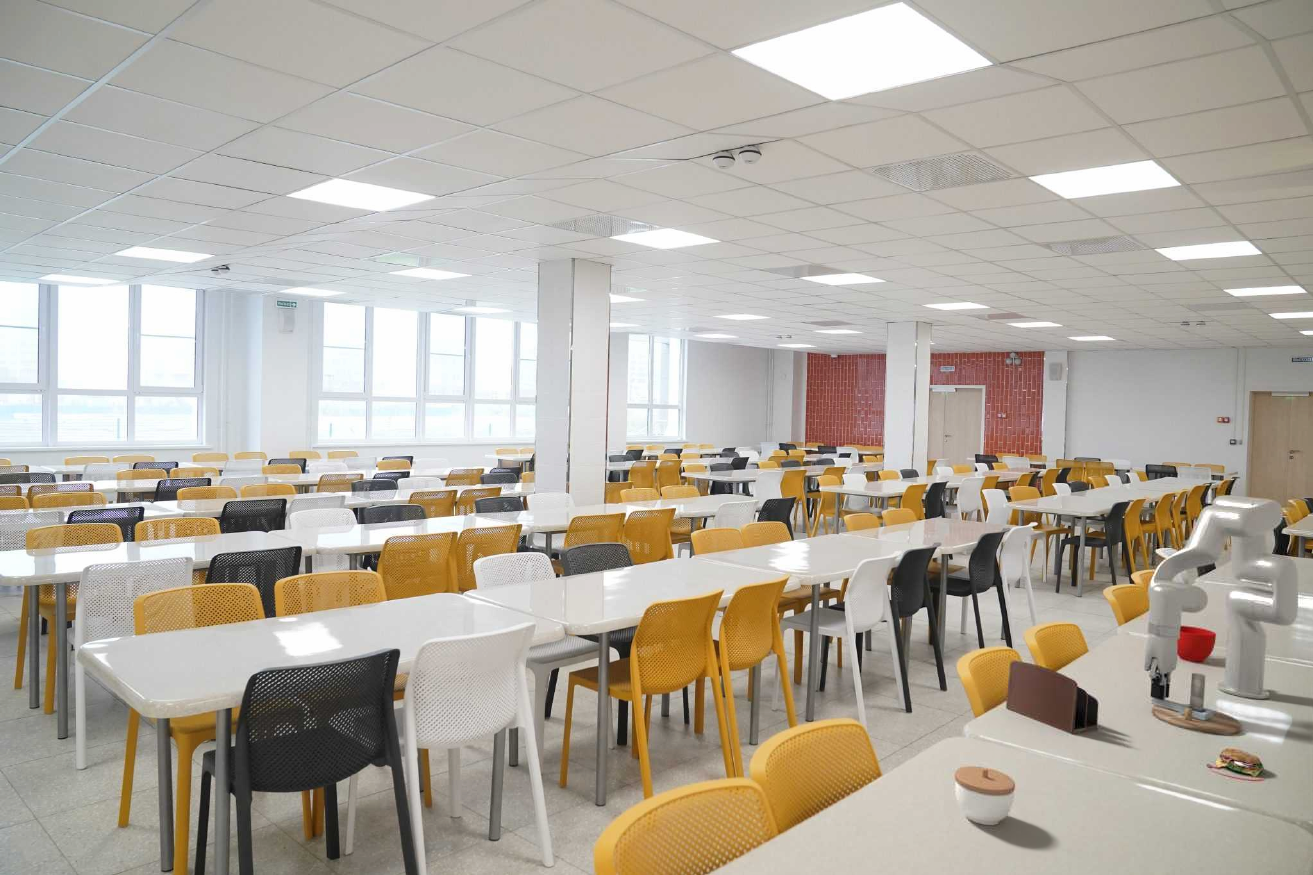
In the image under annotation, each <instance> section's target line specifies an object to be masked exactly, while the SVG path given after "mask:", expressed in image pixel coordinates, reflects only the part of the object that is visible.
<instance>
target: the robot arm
mask: <svg viewBox="0 0 1313 875" xmlns="http://www.w3.org/2000/svg"><path fill="white" fill-rule="evenodd" d="M1283 518H1284V510H1283V507H1282V506H1281V504H1280V503H1279V502H1278V501H1276V500H1274V499H1270V498H1262V497H1250V496H1245V495H1244V496H1241V495H1229V494H1227V495H1219V496H1217V497H1215V498H1214V499H1213V500H1212V504H1211V505H1207V506H1204V507H1203V509H1202V510H1201V512H1200V513H1199V515H1198V517H1197V519H1196V522H1195V524H1194V527H1193V529H1192V531H1191V532H1190V535H1189V538H1188V539H1187V541H1186V544H1185V545H1184V547H1183V548H1181V549H1180V550H1178V551H1176V552H1174V553H1172V554H1171V555H1169V556H1168V557H1167V558H1165V559H1164V560H1163V561H1161V562H1160V563H1159V565H1158V566H1157V567H1156V569H1155V571H1154V572H1153V575H1152V577H1151V579H1150V582H1149V584H1148V589H1147V597H1148V598H1149V599H1148V600H1149V609H1148V621H1147V622H1148V624H1147V635H1148V638H1147V642H1146V647H1145V654H1144V662H1143V664H1144V666H1143V670H1144V671H1146V672H1148V671H1149V674H1148V676H1149V678H1150V683H1151V684H1150V697H1151V699H1152V698H1156V699H1160V700H1163V699H1164V691H1165V685H1163V684H1164V677H1165V678H1167V681H1166V696H1165V699H1168V698H1169V697H1170V683H1171V675H1172V672H1174V671H1175V670H1176V668H1177V665H1178V664H1177V663H1178V655H1177V639H1180V626H1182V625H1181V624H1182V622H1181V621H1182V613H1190V614H1192V613H1193V614H1194V613H1199V612H1202V611H1204V609H1206V607H1207V605H1208V602H1209V599H1208V598H1209V597H1208V594H1207V592H1206V591H1205V590H1204V589H1203V588H1201V587H1199V586H1198V585H1193V584H1188V583H1183V582H1178V581H1174V580H1173V579H1174V578H1175V577H1177V576H1178V575H1179V574H1180V573H1182V572H1184V571H1187V570H1190V569H1194V568H1195V569H1196V568H1199V567H1203V566H1204V567H1205V566H1209V565H1213V564H1215V563H1216V562H1218V561H1219V559H1220V557H1221V554H1222V552H1223V551H1224V548H1225V546H1226V543H1227V541H1228V539H1229V538H1230V543H1231V544H1230V546H1231V547H1230V548H1231V549H1230V550H1231V553H1230V554H1231V555H1230V556H1231V557H1230V558H1231V560H1230V561H1231V562H1230V563H1231V572H1232V576H1233V578H1235V579H1236V580H1237V581H1240V582H1243V583H1248V584H1252V585H1258V586H1259V585H1260V586H1262V587H1263V586H1264V587H1269V588H1271V590H1270V589H1266V588H1261V587H1254V586H1249V585H1235V586H1233V587H1231V588H1229V589H1228V591H1227V592H1226V594H1225V608H1226V613H1227V634H1226V635H1227V637H1226V651H1225V662H1224V663H1225V668H1224V678H1223V679H1224V681H1219V682H1218V684H1217V688H1218V689H1219V690H1220V691H1222V692H1224V693H1227V694H1229V695H1235V696H1237V697H1241V698H1242V697H1243V698H1247V699H1248V698H1249V699H1257V700H1259V699H1260V700H1262V699H1265V700H1266V699H1268V698H1269V697H1270V692H1269V691H1268V690H1266V689H1264V679H1265V668H1266V667H1265V666H1266V665H1265V664H1266V651H1267V648H1266V647H1267V634H1266V631H1265V628H1264V627H1263V626H1262V624H1261V622H1262V623H1266V624H1272V625H1276V626H1283V627H1289V626H1291V625H1293V624H1294V623H1295V622H1296V621H1297V617H1298V613H1299V572H1298V571H1299V570H1298V567H1297V565H1296V563H1295V561H1294V560H1293V559H1292V558H1290V557H1288V556H1287V555H1286V556H1285V555H1280V554H1277V553H1275V554H1274V553H1270V552H1268V550H1267V536H1266V533H1268V532H1270V531H1273V530H1274V529H1276V528H1277V527H1279V525H1280V524H1281V523H1282V521H1283ZM1159 676H1160V677H1159Z"/></svg>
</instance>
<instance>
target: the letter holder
mask: <svg viewBox="0 0 1313 875" xmlns="http://www.w3.org/2000/svg"><path fill="white" fill-rule="evenodd" d="M1008 674H1009V675H1008V679H1007V680H1008V681H1007V682H1008V683H1007V693H1006V702H1005V703H1006V704H1005V705H1006V706H1005V709H1006V710H1008V711H1012V712H1014V713H1017V714H1019V715H1022V716H1024V717H1027V718H1029V719H1032V720H1034V721H1037V722H1040V723H1043V724H1045V725H1048V726H1050V727H1052V728H1055V729H1058V730H1060V731H1062V732H1065V733H1068V734H1070V735H1076V734H1080V733H1085V732H1090V731H1095V730H1097V729H1098V724H1099V723H1098V720H1099V702H1098V699H1097V698H1096V697H1094V696H1092V695H1091V694H1089V693H1088V692H1087V690H1085V689H1083V688H1082V687H1080V686H1078V682H1077V681H1076V680H1074V679H1073V678H1072V677H1071V678H1070V677H1069V676H1066V675H1065V674H1062V673H1059V672H1058V671H1055V670H1052V669H1049V668H1047V667H1044V666H1041V665H1038V664H1034V663H1029V662H1024V661H1018V660H1012V661H1011V662H1010V664H1009V673H1008Z"/></svg>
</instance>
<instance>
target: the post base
mask: <svg viewBox="0 0 1313 875" xmlns="http://www.w3.org/2000/svg"><path fill="white" fill-rule="evenodd" d="M1205 686H1206V675H1205V674H1202V673H1198V672H1193V673H1191V684H1190V699H1189V704H1190V708H1185V715H1183V714H1179V711H1175V710H1172V709H1168V708H1164V707H1161V706H1157V705H1154V704H1153V705H1152V707H1151V713H1153V714H1152V715H1153V716H1154V717H1155V718H1156V719H1158V720H1160V721H1161V720H1162V722H1164V723H1166V722H1167V723H1166V724H1169V725H1171V726H1174V727H1177V728H1181V729H1184V730H1188V731H1191V732H1192V731H1193V732H1198V733H1203V734H1211V735H1220V736H1224V735H1225V736H1229V735H1230V736H1231V735H1238V734H1240V733H1241V732H1242V730H1243V729H1242V728H1243V724H1242V723H1241V721H1239V720H1238V719H1237V718H1235V717H1233V716H1231V715H1228V714H1226V713H1223V712H1220V711H1218V710H1214V709H1210V708H1206V707H1204V702H1205V701H1204V700H1205V688H1206V687H1205ZM1182 704H1183V705H1187V704H1185V703H1182ZM1203 708H1205V709H1209V710H1213V717H1211V718H1209V719H1207V720H1205V721H1204V720H1201V719H1197V718H1194V717H1192V710H1193V711H1197V712H1200V713H1203Z"/></svg>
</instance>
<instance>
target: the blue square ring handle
mask: <svg viewBox="0 0 1313 875" xmlns="http://www.w3.org/2000/svg"><path fill="white" fill-rule="evenodd" d="M1159 677H1160V676H1159ZM1166 681H1167V678H1165V677H1164V684H1163V685H1165V691H1164V699H1163V700H1160V699H1156V698H1152V697H1151V705H1153V706H1154V705H1157V706H1161V707H1164V708H1168V709H1172V710H1175V711H1179V714H1183V715H1185V708H1190V703H1187V704H1186V705H1183V704H1184V703H1179V702H1175V701H1171V700H1168V699H1166V698H1165V696H1166ZM1205 708H1206V707H1203V713H1200V712H1197V711H1193V710H1192V717H1194V718H1197V719H1201V720H1204V721H1205V720H1207V719H1209V718H1211V717H1213V710H1214V709H1211V710H1209V709H1210V708H1207V709H1205Z"/></svg>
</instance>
